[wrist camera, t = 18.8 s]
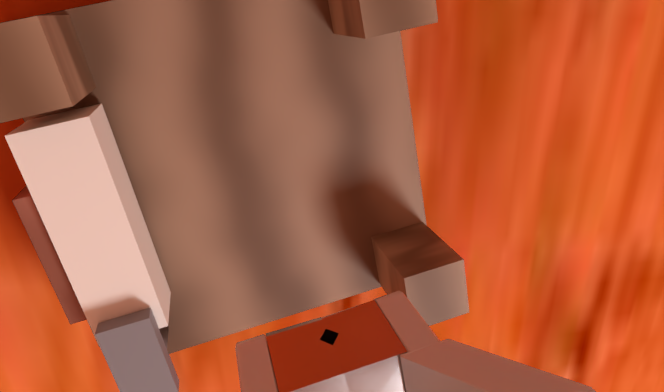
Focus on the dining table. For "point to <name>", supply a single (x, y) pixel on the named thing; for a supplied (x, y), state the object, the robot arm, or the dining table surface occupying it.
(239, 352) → the robot arm
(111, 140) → the hinged leg
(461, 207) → the dining table surface
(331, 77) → the stool board
